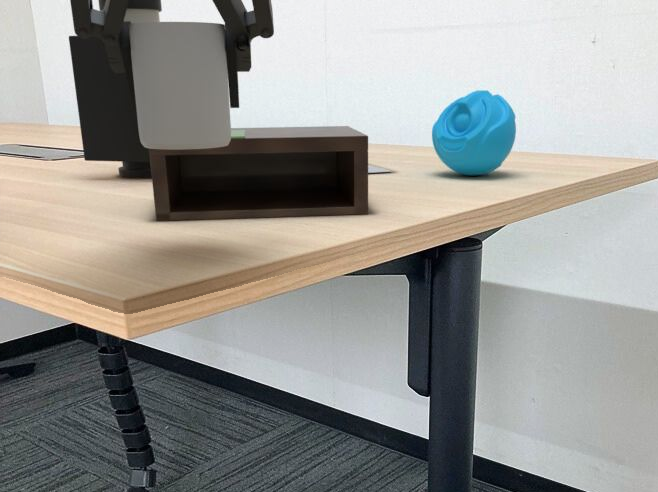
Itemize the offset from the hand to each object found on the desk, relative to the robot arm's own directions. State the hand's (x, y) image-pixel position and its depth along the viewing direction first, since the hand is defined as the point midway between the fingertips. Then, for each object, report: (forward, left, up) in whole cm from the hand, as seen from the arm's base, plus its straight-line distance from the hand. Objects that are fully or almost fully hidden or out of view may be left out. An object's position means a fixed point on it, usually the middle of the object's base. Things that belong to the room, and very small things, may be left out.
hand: (187, 95), depth 63 cm
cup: (-1, -3, -4) cm, 5 cm away
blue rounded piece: (+37, +39, -13) cm, 56 cm away
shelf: (+6, +18, -12) cm, 23 cm away
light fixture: (-11, +48, -13) cm, 51 cm away
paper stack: (+12, +54, -12) cm, 57 cm away
